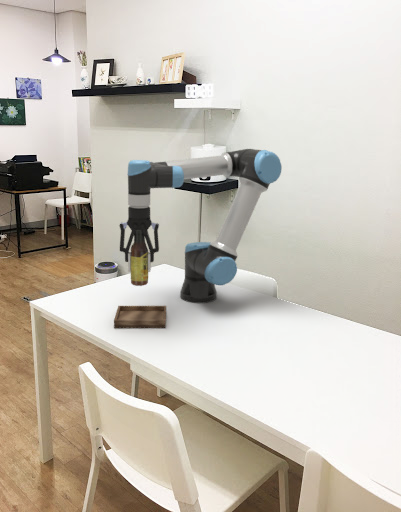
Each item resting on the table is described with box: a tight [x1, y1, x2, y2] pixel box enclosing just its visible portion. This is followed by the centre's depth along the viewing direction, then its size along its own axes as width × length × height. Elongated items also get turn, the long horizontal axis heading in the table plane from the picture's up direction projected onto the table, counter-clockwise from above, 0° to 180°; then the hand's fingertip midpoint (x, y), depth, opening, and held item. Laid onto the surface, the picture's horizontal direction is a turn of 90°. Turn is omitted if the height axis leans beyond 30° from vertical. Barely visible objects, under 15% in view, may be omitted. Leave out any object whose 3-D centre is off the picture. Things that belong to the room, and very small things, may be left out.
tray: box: [113, 305, 167, 329], centre depth 178 cm, size 18×14×3 cm
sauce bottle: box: [130, 230, 149, 287], centre depth 172 cm, size 7×6×20 cm
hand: (139, 270), depth 173 cm, fingers closed on sauce bottle, 6 cm apart
